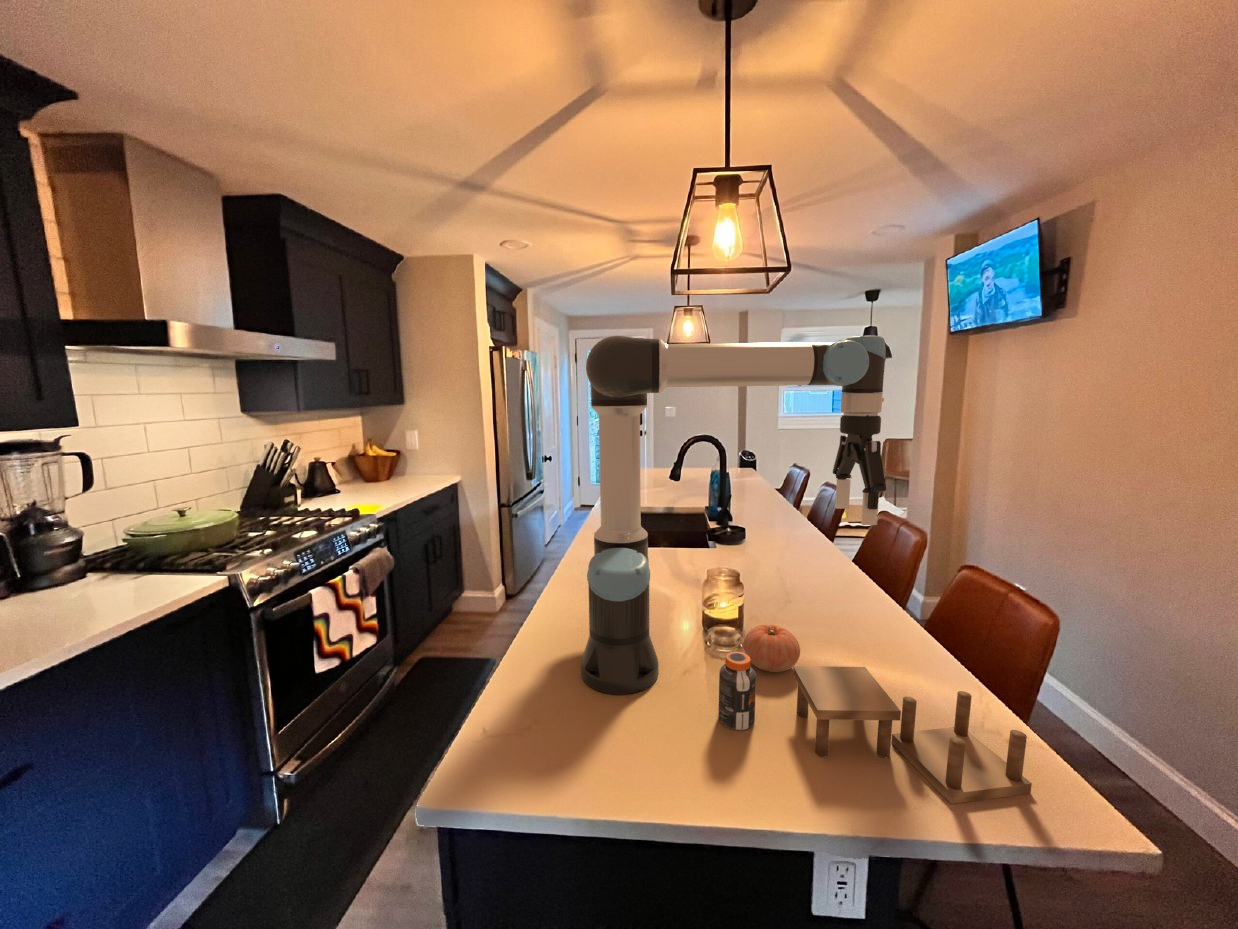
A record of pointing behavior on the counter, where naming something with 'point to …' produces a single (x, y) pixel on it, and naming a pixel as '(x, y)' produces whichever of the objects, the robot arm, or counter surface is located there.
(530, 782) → the counter surface
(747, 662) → the pill bottle
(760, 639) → the mini pumpkin
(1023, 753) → the upturned stool
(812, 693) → the stool
